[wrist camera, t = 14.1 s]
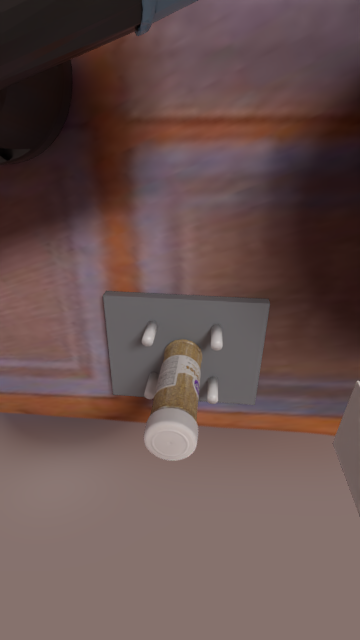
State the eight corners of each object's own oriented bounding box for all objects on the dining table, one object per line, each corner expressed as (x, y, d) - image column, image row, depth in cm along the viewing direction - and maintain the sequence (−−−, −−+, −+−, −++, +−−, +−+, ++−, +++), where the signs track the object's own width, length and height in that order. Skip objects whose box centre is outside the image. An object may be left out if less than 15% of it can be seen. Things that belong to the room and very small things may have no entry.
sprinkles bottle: (209, 360, 40) (207, 453, 29) (176, 375, 42) (162, 469, 30) (189, 330, 39) (178, 416, 27) (156, 347, 40) (131, 435, 28)
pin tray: (115, 388, 45) (105, 414, 41) (106, 291, 39) (93, 309, 35) (253, 398, 44) (257, 425, 40) (268, 298, 37) (274, 319, 33)
